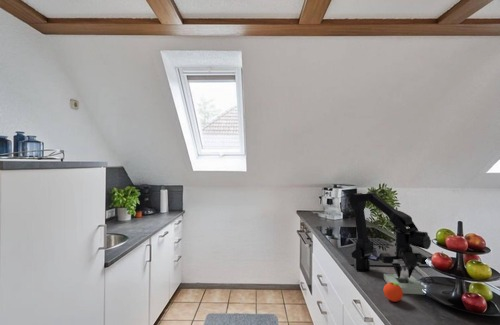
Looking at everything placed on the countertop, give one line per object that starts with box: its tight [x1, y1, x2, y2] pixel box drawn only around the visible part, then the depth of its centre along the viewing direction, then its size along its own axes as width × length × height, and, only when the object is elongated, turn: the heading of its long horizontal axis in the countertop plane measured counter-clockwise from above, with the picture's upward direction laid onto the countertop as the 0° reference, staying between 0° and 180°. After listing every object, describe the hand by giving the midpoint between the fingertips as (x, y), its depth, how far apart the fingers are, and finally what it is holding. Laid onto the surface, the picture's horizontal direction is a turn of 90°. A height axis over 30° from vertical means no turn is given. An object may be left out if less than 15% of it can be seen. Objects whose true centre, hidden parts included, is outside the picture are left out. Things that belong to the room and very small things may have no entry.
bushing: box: [399, 263, 409, 283], centre depth 117 cm, size 4×4×7 cm
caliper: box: [402, 261, 430, 278], centre depth 133 cm, size 20×1×6 cm, turn 1°
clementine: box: [383, 282, 404, 303], centre depth 105 cm, size 8×7×7 cm
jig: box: [383, 273, 428, 295], centre depth 117 cm, size 12×14×2 cm
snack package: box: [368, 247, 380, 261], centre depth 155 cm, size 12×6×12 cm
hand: (403, 277), depth 117 cm, fingers closed on bushing, 4 cm apart
